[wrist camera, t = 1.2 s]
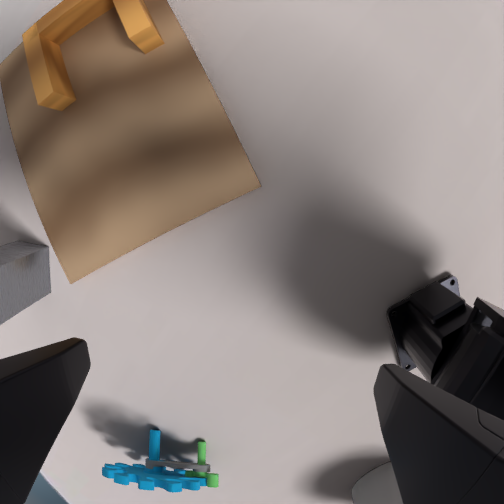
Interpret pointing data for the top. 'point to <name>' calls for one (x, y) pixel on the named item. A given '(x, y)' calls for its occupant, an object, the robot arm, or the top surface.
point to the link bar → (22, 277)
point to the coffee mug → (377, 487)
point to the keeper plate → (117, 129)
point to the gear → (163, 471)
